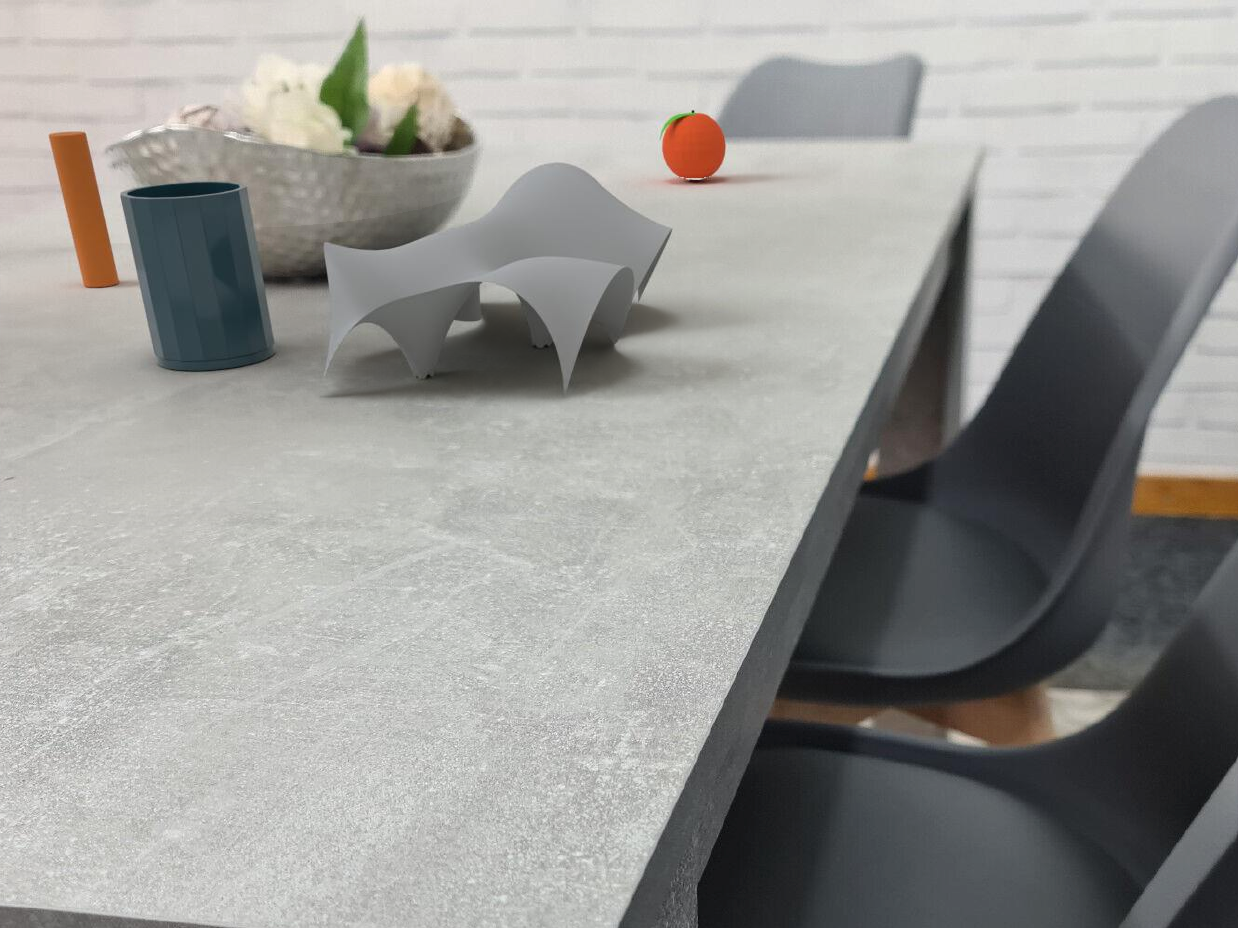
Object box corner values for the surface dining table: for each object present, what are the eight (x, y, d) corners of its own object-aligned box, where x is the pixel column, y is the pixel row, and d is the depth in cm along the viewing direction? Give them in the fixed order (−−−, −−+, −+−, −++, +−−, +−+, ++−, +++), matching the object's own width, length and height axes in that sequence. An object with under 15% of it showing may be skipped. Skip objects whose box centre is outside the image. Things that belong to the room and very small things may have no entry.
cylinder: (83, 288, 112) (47, 135, 106) (84, 282, 114) (49, 132, 108) (119, 285, 112) (84, 133, 107) (119, 279, 115) (86, 130, 109)
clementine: (681, 188, 152) (678, 115, 149) (642, 182, 157) (639, 111, 154) (739, 180, 157) (738, 109, 153) (700, 174, 161) (698, 105, 158)
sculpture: (627, 399, 81) (616, 216, 76) (301, 396, 82) (270, 217, 78) (687, 303, 102) (682, 156, 98) (429, 302, 104) (411, 158, 100)
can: (157, 376, 87) (119, 202, 82) (156, 350, 93) (120, 186, 88) (279, 363, 89) (249, 192, 85) (271, 338, 95) (242, 178, 90)
